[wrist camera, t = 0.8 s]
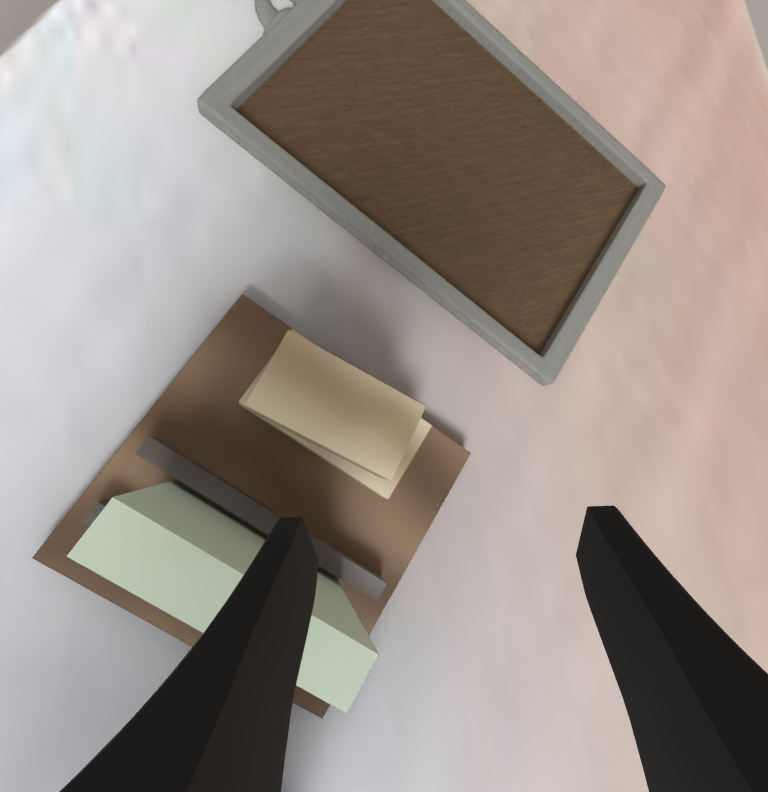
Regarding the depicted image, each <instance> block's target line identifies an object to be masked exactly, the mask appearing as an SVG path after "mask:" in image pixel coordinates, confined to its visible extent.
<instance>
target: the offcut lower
mask: <svg viewBox="0 0 768 792" xmlns="http://www.w3.org/2000/svg"><path fill="white" fill-rule="evenodd" d="M291 332H293V333H295V334H297V335H298V336H300V337H302V338H304V339H306V340H307V341H309V342H311V341H310V340H309V339H307V338H306V337H304V336H303V335H301V334H300V333H298V332H297V331H296V330H294V329H292V330H291ZM311 343H313V342H311ZM313 344H314V343H313ZM315 345H316V344H315ZM316 346H317V345H316ZM318 347H319V346H318ZM273 355H274V354H273ZM272 357H273V356H272ZM272 357H271V358H270V360H271V359H272ZM270 360H269V361H268V362H267V364H266V365H265V367H264V368H263V369H262V371H261V372H260V373H259V375H258V376H257V377H256V379H255V380H254V381H253V383H252V384H251V385H250V387H249V388H248V389H247V391H246V392H245V394H244V395H243V396H242V398H241V399H240V400H239V403H240V405H241V406H242V407H243V408H245V409H246V407H245V403H246V402H247V400H248V398H249V396H250V395H251V393H252V391H253V390H254V388H255V386H256V384H257V383H258V381H259V379H260V378H261V376H262V374H263V372H264V371H265V369H266V367H267V365H268V364H269V362H270ZM246 410H247V409H246ZM248 411H249V410H248ZM249 412H251V411H249ZM251 413H252V414H254V415H256V416H257V417H259V418H260V419H262V420H263V421H265V422H266V423H268V424H269V425H271V426H272V427H274V428H275V429H277V430H278V431H280V432H282V433H283V434H285V435H286V436H288V437H289V438H291V439H292V440H294V441H295V442H297V443H298V444H300V445H301V446H303V447H304V448H306V449H308V450H309V451H311V452H312V453H314V454H315V455H317V456H318V457H320V458H321V459H323V460H324V461H326V462H327V463H329V464H330V465H332V466H334V467H335V468H337V469H338V470H340V471H341V472H343V473H344V474H346V475H347V476H349V477H350V478H352V479H353V480H355V481H357V482H358V483H360V484H361V485H363V486H364V487H366V488H367V489H369V490H370V491H372V492H373V493H375V494H376V495H378V496H380V497H383V498H385V499H389V497H390V496H391V494H392V492H393V490H394V489H395V487H396V485H397V484H398V482H399V480H400V479H401V477H402V475H403V474H404V472H405V470H406V469H407V467H408V465H409V464H410V462H411V460H412V459H413V457H414V455H415V454H416V452H417V450H418V449H419V447H420V445H421V444H422V442H423V440H424V439H425V437H426V435H427V433H428V432H429V430H430V428H431V427H432V425H431V424H429V423H428V422H426V421H425V420H423V419H422V418H421V419H420V421H419V423H418V425H417V427H416V429H415V431H414V434H413V436H412V438H411V440H410V442H409V444H408V446H407V448H406V451H405V453H404V455H403V457H402V459H401V461H400V463H399V465H398V467H397V470H396V472H395V474H394V476H393V478H392V480H387V479H382V478H379V477H377V476H376V475H374V474H372V473H370V472H368V471H366V470H364V469H362V468H360V467H358V466H356V465H354V464H352V463H350V462H348V461H346V460H344V459H343V458H341V457H339V456H337V455H335V454H333V453H331V452H329V451H327V450H325V449H323V448H321V447H319V446H317V445H315V444H313V443H311V442H310V441H308V440H306V439H304V438H302V437H300V436H298V435H296V434H294V433H292V432H290V431H288V430H286V429H284V428H282V427H280V426H278V425H277V424H275V423H273V422H271V421H269V420H267V419H265V418H263V417H261V416H259V415H257V414H255V413H253V412H251Z"/></svg>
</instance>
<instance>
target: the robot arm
mask: <svg viewBox="0 0 768 792" xmlns="http://www.w3.org/2000/svg"><path fill="white" fill-rule="evenodd" d="M576 557H577V561H578V566H579V570H580V574H581V578H582V582H583V586H584V590H585V594H586V598H587V601H588V603H589V606H590V609H591V612H592V615H593V617H594V620H595V623H596V626H597V628H598V631H599V634H600V637H601V639H602V642H603V645H604V647H605V650H606V653H607V656H608V658H609V661H610V664H611V667H612V669H613V672H614V675H615V677H616V680H617V683H618V686H619V688H620V691H621V694H622V697H623V700H624V703H625V706H626V709H627V712H628V715H629V718H630V722H631V725H632V729H633V733H634V736H635V740H636V744H637V747H638V751H639V755H640V758H641V762H642V766H643V769H644V773H645V777H646V781H647V785H648V789H649V792H768V674H767V673H766V672H765V671H764V670H763V669H762V668H761V667H760V666H759V665H758V664H757V663H756V662H755V661H754V660H753V659H751V658H750V657H749V656H748V655H747V654H746V653H745V652H744V651H743V650H742V649H741V648H740V647H739V646H738V645H737V644H736V643H735V642H734V641H733V640H732V639H731V638H730V637H729V636H728V635H727V634H726V633H725V632H724V631H723V630H722V628H721V627H720V626H719V625H718V624H717V623H716V622H715V621H714V620H713V619H712V618H711V617H710V616H709V615H708V614H707V613H706V612H705V611H704V610H703V609H702V608H701V606H700V605H699V604H698V603H697V602H696V601H695V600H694V599H693V598H692V597H691V596H690V594H689V593H688V592H687V591H686V590H685V589H684V588H683V587H682V586H681V584H680V583H679V582H678V581H677V580H676V579H675V578H674V577H673V575H672V574H671V573H670V572H669V571H668V570H667V569H666V567H665V566H664V565H663V564H662V563H661V562H660V560H659V559H658V558H657V557H656V556H655V555H654V553H653V552H652V551H651V550H650V549H649V547H648V546H647V545H646V544H645V543H644V541H643V540H642V539H641V538H640V536H639V535H638V534H637V533H636V531H635V530H634V529H633V528H632V526H631V525H630V524H629V523H628V521H627V520H626V519H625V518H624V516H623V515H622V514H621V512H620V511H619V510H618V509H617V508H616V507H615V506H591V507H587V511H586V515H585V519H584V523H583V528H582V532H581V536H580V540H579V545H578V549H577V553H576ZM318 565H319V560H318V557H317V555H316V552H315V549H314V547H313V544H312V541H311V539H310V536H309V533H308V531H307V528H306V526H305V523H304V520H303V518H302V517H281V518H279V519H278V520H277V522H276V523H275V525H274V527H273V528H272V530H271V532H270V533H269V535H268V537H267V538H266V540H265V542H264V543H263V545H262V547H261V548H260V550H259V552H258V553H257V555H256V556H255V558H254V560H253V561H252V563H251V564H250V566H249V568H248V569H247V571H246V572H245V574H244V575H243V577H242V578H241V580H240V581H239V583H238V584H237V586H236V587H235V589H234V590H233V592H232V593H231V595H230V596H229V598H228V599H227V601H226V602H225V604H224V605H223V606H222V608H221V609H220V611H219V612H218V613H217V615H216V616H215V618H214V619H213V620H212V622H211V623H210V624H209V626H208V627H207V629H206V630H205V631H204V633H203V634H202V635H201V637H200V638H199V639H198V641H197V642H196V643H195V645H194V646H193V647H192V648H191V650H190V651H189V652H188V654H187V655H186V656H185V657H184V659H183V660H182V661H181V662H180V664H179V665H178V666H177V667H176V668H175V670H174V671H173V672H172V673H171V674H170V676H169V677H168V678H167V679H166V680H165V682H164V683H163V684H162V685H161V686H160V687H159V688H158V690H157V691H156V692H155V693H154V694H153V695H152V696H151V698H150V699H149V700H148V701H147V702H146V703H145V704H144V706H143V707H142V708H141V709H140V710H139V711H138V712H137V713H136V715H135V716H134V717H133V718H132V719H131V720H130V721H129V722H128V723H127V724H126V725H125V726H124V727H123V729H122V730H121V731H120V732H119V733H118V734H117V735H116V736H115V737H114V738H113V739H112V740H111V741H110V742H109V743H108V744H107V745H106V746H105V747H104V748H103V749H102V750H101V751H100V752H99V753H98V754H97V755H96V756H95V757H94V758H93V759H92V760H91V761H90V762H89V763H88V764H87V765H86V766H85V767H84V768H83V769H82V771H81V772H79V773H78V774H77V775H76V776H75V777H74V778H73V779H72V780H71V781H70V782H69V783H68V784H67V785H66V786H65V787H64V788H63V789H62V790H61V791H60V792H281V785H282V776H283V768H284V759H285V751H286V744H287V737H288V729H289V722H290V714H291V708H292V703H293V697H294V692H295V687H296V683H297V678H298V674H299V669H300V665H301V660H302V656H303V651H304V647H305V643H306V638H307V634H308V629H309V624H310V620H311V615H312V611H313V606H314V601H315V593H316V585H317V575H318Z"/></svg>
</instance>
